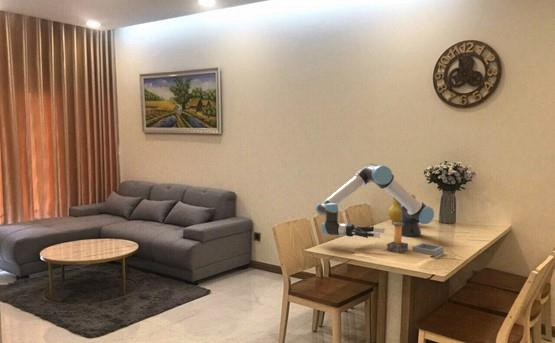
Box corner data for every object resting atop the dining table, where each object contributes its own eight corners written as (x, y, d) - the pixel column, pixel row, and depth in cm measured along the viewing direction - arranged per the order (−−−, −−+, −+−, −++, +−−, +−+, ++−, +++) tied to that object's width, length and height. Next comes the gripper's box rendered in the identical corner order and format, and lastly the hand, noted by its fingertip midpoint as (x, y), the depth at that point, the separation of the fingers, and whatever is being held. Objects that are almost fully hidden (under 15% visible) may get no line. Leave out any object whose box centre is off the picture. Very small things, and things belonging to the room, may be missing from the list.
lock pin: (390, 250, 266) (391, 223, 265) (395, 248, 270) (396, 221, 269) (399, 251, 262) (400, 224, 261) (404, 250, 266) (404, 223, 265)
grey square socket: (383, 253, 266) (383, 243, 265) (393, 249, 275) (393, 240, 274) (402, 256, 258) (402, 247, 257) (411, 252, 267) (411, 243, 266)
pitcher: (396, 220, 365) (398, 189, 361) (417, 224, 350) (418, 192, 347) (383, 223, 354) (384, 191, 350) (403, 228, 340) (405, 195, 336)
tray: (412, 253, 264) (412, 247, 263) (422, 249, 273) (422, 242, 273) (434, 257, 255) (434, 250, 255) (443, 253, 265) (443, 246, 264)
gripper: (352, 232, 289) (386, 234, 281) (341, 240, 267) (377, 243, 258) (352, 220, 289) (386, 222, 280) (341, 227, 266) (377, 230, 257)
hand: (382, 232), depth 269 cm, fingers open, 13 cm apart
